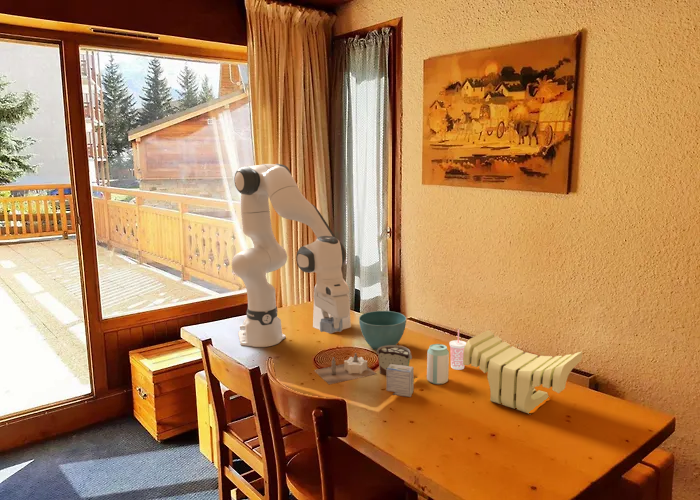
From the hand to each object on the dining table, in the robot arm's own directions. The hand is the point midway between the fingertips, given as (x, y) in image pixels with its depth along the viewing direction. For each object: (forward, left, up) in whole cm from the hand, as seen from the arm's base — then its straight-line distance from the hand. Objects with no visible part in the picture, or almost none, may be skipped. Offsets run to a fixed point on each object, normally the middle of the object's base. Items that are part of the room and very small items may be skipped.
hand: (331, 325), depth 183 cm
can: (+20, +30, -19) cm, 40 cm away
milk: (-47, +22, -19) cm, 55 cm away
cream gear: (+2, +8, -17) cm, 19 cm away
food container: (+10, +20, -19) cm, 29 cm away
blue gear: (0, 0, -2) cm, 2 cm away
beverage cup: (+14, +43, -19) cm, 48 cm away
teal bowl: (-15, +29, -19) cm, 37 cm away
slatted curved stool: (+44, +43, -19) cm, 64 cm away
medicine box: (+22, +14, -19) cm, 32 cm away
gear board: (+2, +4, -18) cm, 19 cm away
